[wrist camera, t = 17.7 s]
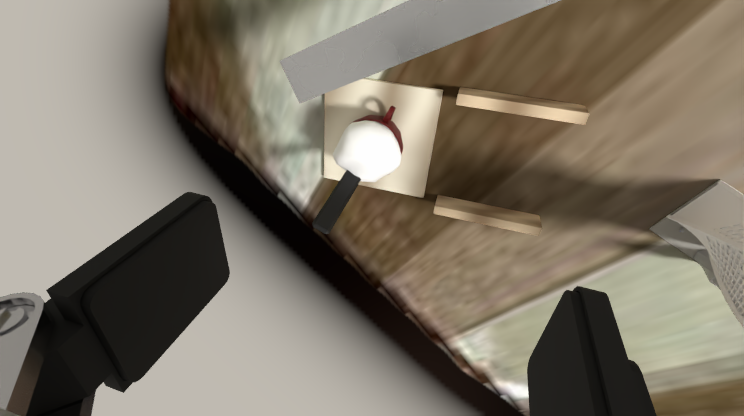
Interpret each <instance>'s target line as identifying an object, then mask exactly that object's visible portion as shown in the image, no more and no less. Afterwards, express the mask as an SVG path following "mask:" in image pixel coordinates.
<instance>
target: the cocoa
mask: <svg viewBox="0 0 744 416" xmlns="http://www.w3.org/2000/svg"><path fill="white" fill-rule="evenodd" d="M395 109H396V108H395V107H394V106H391V107H390V108H389V110H388V112H387V113H386V115H385V117H384V116H380V115H367V116H365V117H362V118H360V119H357V120H355V121H353V122H352V123H351V124H350V125H349V126H348V127H347V128H346V129H345V130H344V132H343V134H342V136H341V138H340V141H339V142H338V144H337V146H336V148H335V150H334V152H333V157H334V160H335V162H336V164H337V165H339V166H340V167H341V168H343V169H344V170H345V171H346V172H345V173H344V175H343V176H342V178H341V179H340V181H339V183H338V184H337V186H336V187H335V189H334V190H333V192H332V193H331V195H330V197H329V198H328V200H327V201H326V203H325V204H324V206H323V207H322V209H321V211H320V212H319V214H318V215H317V217H316V218H315V220H314V221H313V223H312V224H313V227H314V228H316V229H318V230H319V231H321V232H323V233H325V234H328V233H330V231H331V229H332V228H333V226H334V224H335V223H336V221H337V219H338V218H339V216H340V214H341V213H342V211H343V209H344V208H345V206H346V204H347V203H348V201H349V199H350V197H351V196H352V194H353V192H354V191H355V189H356V187H357V186H358V184H359V182H360V181H362V182H376V181H377V180H379V179H380V178H382V177H383V176H385V175H388V174H390V173H392V172H393V171H394V170H395V169H396V168H398V167H399V166H400V161H401V154H402V151H403V143H402V137H401V132H400V130H399V129H398V128H397V126H396V125H395V123H394V122H393V121H391V119H392V116H393V114H394V111H395Z"/></svg>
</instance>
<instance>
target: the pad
mask: <svg viewBox="0 0 744 416" xmlns="http://www.w3.org/2000/svg"><path fill="white" fill-rule="evenodd" d="M442 94H443V90H441V89H435V88H428V87H421V86H415V85H408V84H401V83H395V82H388V81H381V80H375V79H368V78H363V79H360V80H358V81H355V82H353V83H350V84H348V85H345V86H343V87H340V88H338V89H335V90H332V91H330V92H327V93H325V110H324V178H329V179H334V180H339V181H340V179H341V178H342V176H343V175H344V173H345V172H346V171H345V170H344V169H343V168H341V167H340V166H339V165H337V164H336V162H335V160H334V157H333V152H334V150H335V148H336V146H337V144H338V142H339V141H340V138H341V136H342V134H343V132H344V130H345V129H346V128H347V127H348V126H349V125H350V124H351V123H352V122H353V121H355V120H357V119H360V118H362V117H365V116H367V115H380V116H384V117H385V115H386V113H387V112H388V110H389V108H390V107H391V106H394V107H395V108H396V109H395V111H394V114H393V116H392V119H391V121H393V122H394V123H395V125H396V126H397V128H398V129H399V130H400V132H401V137H402V143H403V151H402V154H401V161H400V166H399V167H398V168H396V169H395V170H394V171H393V172H392V173H390V174H388V175H385V176H383V177H382V178H380V179H379V180H377V181H376V182H362V181H360V182H359V184H358V185H363V186H368V187H373V188H378V189H382V190H387V191H392V192H397V193H402V194H407V195H412V196H416V197H421V198H423V197H424V193H425V187H426V182H427V176H428V171H429V165H430V160H431V154H432V149H433V143H434V138H435V133H436V127H437V122H438V116H439V111H440V105H441V100H442Z"/></svg>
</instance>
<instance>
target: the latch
mask: <svg viewBox="0 0 744 416" xmlns="http://www.w3.org/2000/svg"><path fill="white" fill-rule="evenodd" d="M558 1H560V0H409V1H407V2H404V3H402V4H400V5H398V6H396V7H394V8H392V9H389V10H387V11H385V12H383V13H381V14H379V15H377V16H374V17H372V18H370V19H368V20H366V21H364V22H362V23H360V24H357V25H355V26H353V27H351V28H349V29H347V30H345V31H342V32H340V33H338V34H336V35H334V36H332V37H330V38H327V39H325V40H323V41H321V42H319V43H317V44H315V45H313V46H310V47H308V48H306V49H304V50H302V51H300V52H298V53H295V54H293V55H291V56H289V57H287V58H285V59H283V60H280V63H281V65H282V67H283V70H284V72H285V74H286V76H287V78H288V80H289V82H290V84H291V86H292V88H293V90H294V93H295V95H296V97H297V99H298V101H299V103H302V102H305V101H307V100H310V99H312V98H315V97H317V96H320V95H322V94H325V93H327V92H330V91H332V90H335V89H338V88H340V87H343V86H345V85H348V84H350V83H353V82H355V81H358V80H360V79H363V78H365V77H368V76H370V75H373V74H375V73H378V72H381V71H383V70H386V69H388V68H391V67H393V66H396V65H398V64H401V63H403V62H406V61H408V60H411V59H413V58H416V57H419V56H421V55H424V54H426V53H429V52H431V51H434V50H436V49H439V48H441V47H444V46H446V45H449V44H451V43H454V42H456V41H459V40H462V39H464V38H467V37H469V36H472V35H474V34H477V33H479V32H482V31H484V30H487V29H489V28H492V27H494V26H497V25H500V24H502V23H505V22H507V21H510V20H512V19H515V18H517V17H520V16H522V15H525V14H527V13H530V12H532V11H535V10H537V9H540V8H543V7H545V6H548V5H550V4H553V3H555V2H558Z"/></svg>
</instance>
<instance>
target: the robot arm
mask: <svg viewBox="0 0 744 416" xmlns="http://www.w3.org/2000/svg"><path fill="white" fill-rule="evenodd" d="M229 274H230V272H229V266H228V261H227V257H226V252H225V248H224V243H223V238H222V233H221V229H220V223H219V219H218V214H217V209H216V206H215V204H214V203H212V200H211V199H210V198H209V197H208V196H205V195H200V194H196V193H192V192H187V193H185V194H183V195H182V196H180V197H179V198H177V199H176V200H175V201H173V202H172V203H170V204H169V205H167V206H166V207H164V208H163V209H162V210H160V211H159V212H157V213H156V214H154V215H153V216H152V217H150V218H149V219H147V220H146V221H144V222H143V223H142V224H140V225H139V226H137V227H136V228H134V229H133V230H132V231H130V232H129V233H127V234H126V235H125V236H123V237H122V238H120V239H119V240H117V241H116V242H115V243H113V244H112V245H110V246H109V247H107V248H106V249H105V250H103V251H102V252H100V253H99V254H97V255H96V256H95V257H93V258H92V259H90V260H89V261H87V262H86V263H85V264H83V265H82V266H80V267H79V268H77V269H76V270H75V271H73V272H72V273H70V274H69V275H67V276H66V277H65V278H63V279H62V280H60V281H59V282H58V283H56V284H55V285H53V286H52V287H50V288H49V289H48V290H47V292H48V294H49V295H50V297H51V299H50V300H48V301H47V302H46V303H44V301H43V299H42V298H41V297H40V296H38V295H36V294H34V293H16V294H10V295H7V296H3V297H0V416H91V414H92V408H93V403H94V397H95V392H96V389H97V388H98V386H99V385H100V384H102V383H103V382H104V383H105V385H106V386H108V387H110V388H113V389H116V390H118V391H121V392H123V393H124V392H125V390H126V389H127V388H128V387H129V386H130V385H131V384H132V383H133V382H136V381H138V380H140V379H141V378H142V377H143V376H144V375H145V374H146V373H147V371H148V370H149V369H150V368H151V367H152V366H153V365H154V364H155V362H156V361H157V360H158V359H159V358H160V357H161V356H162V354H163V353H164V352H165V351H166V350H167V349H168V348H169V347H170V345H171V344H172V343H173V342H174V341H175V340H176V339H177V338H178V337H179V335H180V334H181V333H182V332H183V331H184V330H185V329H186V327H187V326H188V325H189V324H190V323H191V322H192V321H193V320H194V318H195V317H196V316H197V315H198V314H199V313H200V312H201V311H202V309H203V308H204V307H205V306H206V305H207V304H208V303H209V302H210V300H211V299H212V298H213V297H214V296H215V295H216V294H217V293H218V291H219V290H220V289H221V288H222V287H223V286H224V285H225V283H226V282H227V280H228V278H229ZM527 374H528V391H529V408H530V416H656V413H655V410H654V407H653V404H652V401H651V398H650V395H649V392H648V389H647V386H646V384H645V381H644V378H643V375H642V372H641V370H640V368H639V366H638V365H637V364H636V363H635V362H634V361H631V360H628V357H627V354H626V351H625V348H624V345H623V342H622V339H621V335H620V332H619V329H618V326H617V323H616V320H615V317H614V314H613V310H612V307H611V304H610V301H609V298H608V296H607V294H606V293H604V292H600V291H596V290H592V289H588V288H583V287H579V286H577V287H576V288H575V289H574V290H573V291H569V290H566V291H565V292H564V294H563V295H562V297H561V299H560V301H559V303H558V305H557V307H556V309H555V311H554V313H553V314H552V316H551V318H550V320H549V322H548V324H547V326H546V328H545V330H544V332H543V334H542V336H541V337H540V339H539V341H538V343H537V345H536V347H535V349H534V351H533V353H532V355H531V357H530V359H529V362H528V369H527Z"/></svg>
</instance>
